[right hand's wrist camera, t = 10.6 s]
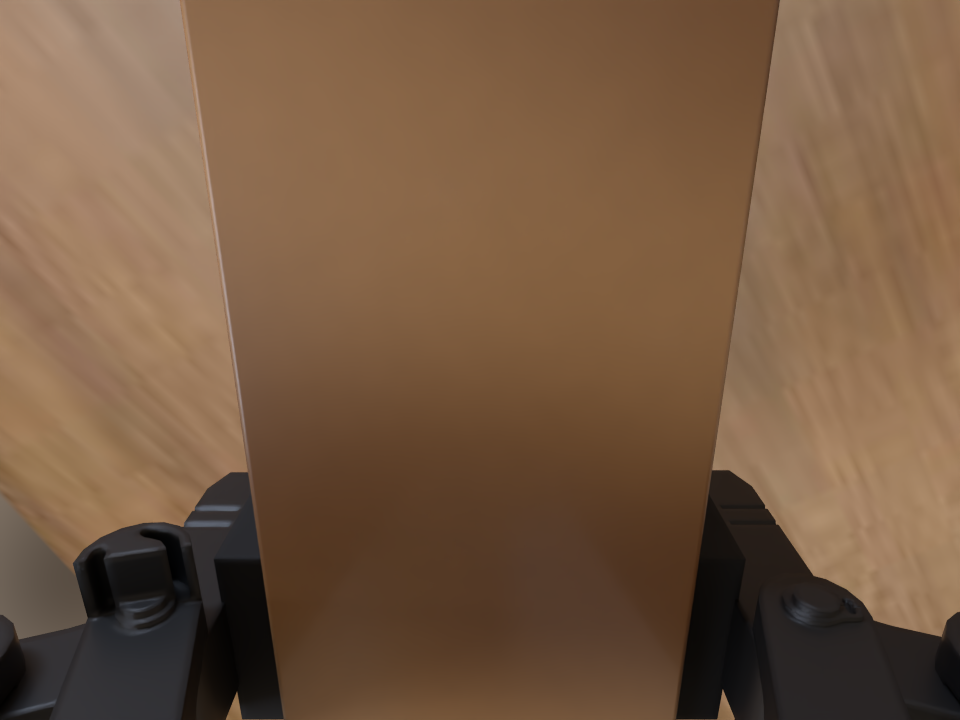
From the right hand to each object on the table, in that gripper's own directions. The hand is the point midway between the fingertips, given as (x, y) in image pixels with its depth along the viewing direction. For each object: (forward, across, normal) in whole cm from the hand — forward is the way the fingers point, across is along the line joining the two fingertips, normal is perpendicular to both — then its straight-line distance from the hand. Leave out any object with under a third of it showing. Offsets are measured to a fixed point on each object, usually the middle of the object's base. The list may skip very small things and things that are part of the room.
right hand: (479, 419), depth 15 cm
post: (+1, 0, -31) cm, 31 cm away
